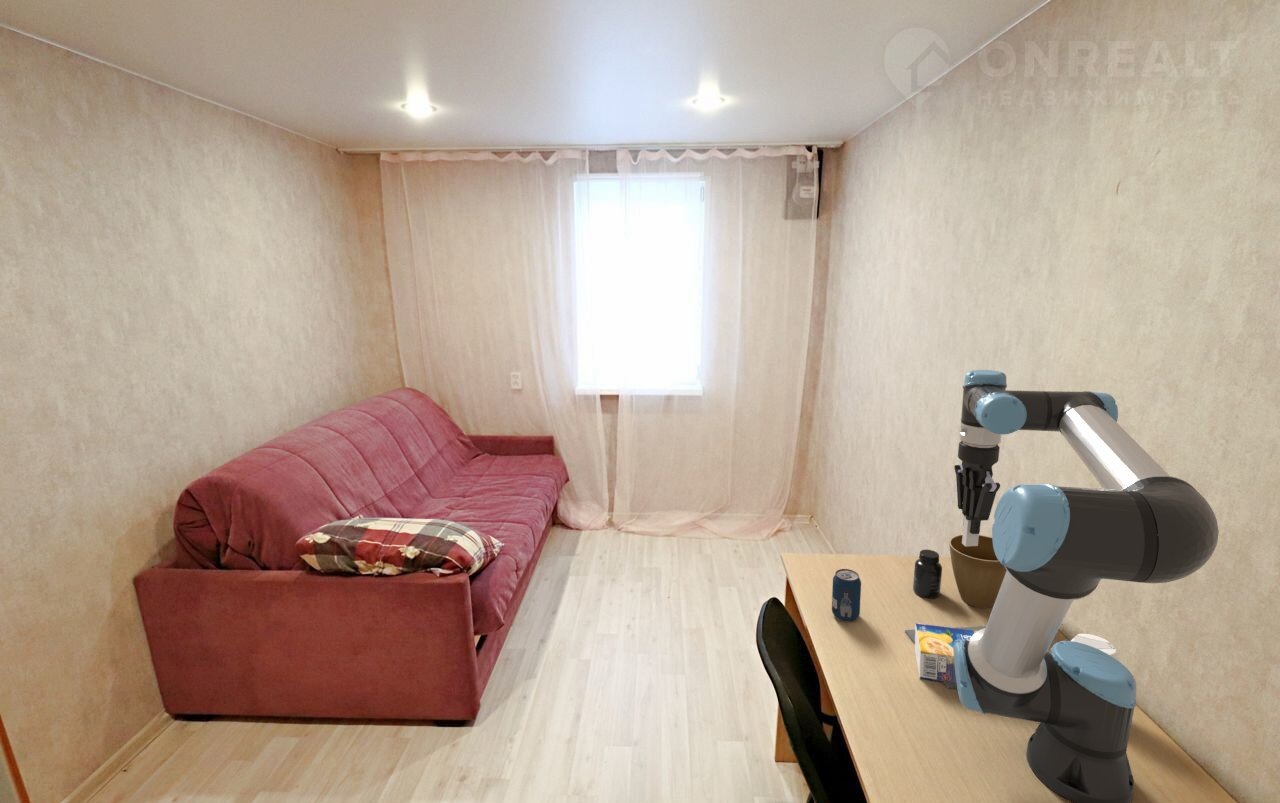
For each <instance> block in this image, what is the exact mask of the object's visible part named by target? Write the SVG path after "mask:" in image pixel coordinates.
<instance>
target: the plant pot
mask: <svg viewBox="0 0 1280 803" xmlns="http://www.w3.org/2000/svg"><path fill="white" fill-rule="evenodd" d="M962 536H963V534H957V535H955V536H953V537H951V538H950V540H949V541H948V542H949V553H950V560H951V566H952V571H953V576H954V581H955V583H956V584H955V585H956V587H957V590H958V593H959V596H960V598H961V600H962V601H963V602H964V603H966V604H967V605H968V606H971V607H972V606H973V607H975V608H979V609H980V608H981V609H983V608H984V609H986V608H990V607H992V606H993V605H994V603H995V601H996V598H997V595H998V593H999V590H1000V587H1001V584H1002V582H1003V579H1004V576H1005V574H1006V571H1007V570H1006V568H1005V566H1004V565H1002V564H1001V563H1000V562H999V560H998V559H997V557H996V554H995V551H994V548H993V541H992V536H987V535H983V534H979V539H978V546H964V545H963V544H962Z"/></svg>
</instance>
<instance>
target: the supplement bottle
mask: <svg viewBox="0 0 1280 803" xmlns="http://www.w3.org/2000/svg"><path fill="white" fill-rule="evenodd" d="M942 576H943V566H942V564H941V563H940V554H939V553H938V552H937V551H935V550H932V549H921V550H920V552H919V557H918V558H917V559H916V560H915V562H914V570H913V584H912V589H913V592H914V593H915V594H916V595H918V596H919V597H921V598H925V599H930V600H931V599H936V598H938V597H939V596H940V595H941V594H940V593H941V585H942Z"/></svg>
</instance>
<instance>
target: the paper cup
mask: <svg viewBox="0 0 1280 803" xmlns="http://www.w3.org/2000/svg"><path fill="white" fill-rule="evenodd" d="M1070 641H1073V642H1079V643H1083V644H1086V645H1089V646H1092V647H1094V648H1097V649H1099V650H1101V651H1103V652H1105V653H1107V654H1108V655H1110V656H1112V657H1113V658H1115V659H1116V660H1118V661H1119V653H1118V650H1117V649H1116V647H1115V646H1114V645H1113V644H1112V643H1111V642H1110V641H1109V640H1107V639H1105V638H1103V637H1100V636H1097V635H1095V634H1091V633H1090V634H1089V633H1078V634H1076V635H1075V636H1074V637H1073V638H1072V639H1071V640H1070Z"/></svg>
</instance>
